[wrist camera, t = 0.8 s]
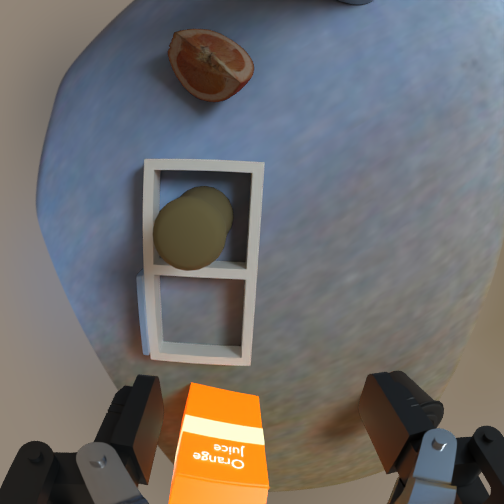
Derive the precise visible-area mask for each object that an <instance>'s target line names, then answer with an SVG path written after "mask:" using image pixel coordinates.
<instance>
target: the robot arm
mask: <svg viewBox="0 0 504 504" xmlns="http://www.w3.org/2000/svg"><path fill="white" fill-rule="evenodd" d="M338 1H342V2H345V3H349V4H367V3H370V2H372V1H373V0H338ZM418 404H419V403H418V402H417V401H416V399H414V396H413V395H412V394H411V392H410V391H409V389H408V388H406V387H405V386H403V385H402V384H401V383H399V382H396V383H395V382H394V380H393V379H392V377H391V376H390V374H389V373H388V372H381V373H374V374H369V375H368V376H367V379H366V382H365V385H364V388H363V392H362V395H361V398H360V401H359V414H360V417H361V419H362V421H363V424H364V426H365V428H366V430H367V432H368V434H369V436H370V439H371V441H372V443H373V445H374V447H375V449H376V452H377V454H378V456H379V458H380V460H381V463H382V465H383V467H384V469H385V471H386V474H390V473H394V472H398V474H399V477H398V478H397V480H396V483H395V485H394V488H393V491H392V493H391V496H390V498H389V501H388V503H387V504H504V437H503V435H502V434H501V433H500V432H499V431H498V430H497V429H496V428H494V427H491V426H482V427H479V428H478V429H477V430H476V431H475V433H474V434H473V436H472V437H460V438H455V436H454V435H453V434H452V433H451V432H449V431H447V430H445V429H440V428H435V427H434V425H433V424H432V422H431V421H430V419H429V418H428V416H427V415H426V414H425V412H424V411H423V409H422V408H421V406H420V405H418ZM163 418H164V405H163V399H162V393H161V388H160V382H159V378H158V376H149V375H140V374H139V375H138V376H137V377H136V380H135V382H134V384H133V387H131V386H124V387H123V388H122V389H120V390H119V391H118V392H117V393H116V394H115V397H114V398H113V401H112V404H111V405H110V407H109V409H108V413H106V416H105V418H104V420H103V422H102V425H101V427H100V429H99V431H98V434H97V436H96V438H95V440H94V442H92V443H88V444H86V445H85V446H83V447H82V448H80V450H79V451H78V452H76V453H58V452H56V453H54V452H53V451H52V449H51V448H50V447H49V446H48V445H47V444H45V443H43V442H40V441H31V442H28V443H26V444H24V445H23V446H22V447H21V448H20V449H19V451H18V453H17V455H16V457H15V459H14V461H13V463H12V465H11V467H10V469H9V471H8V473H7V475H6V477H5V480H4V481H3V484H2V486H1V488H0V504H149V503H148V501H147V500H146V499H145V498H144V497H143V496H142V495H141V493H140V491H139V490H138V484H144V485H148V482H149V478H150V473H151V469H152V464H153V460H154V456H155V452H156V447H157V443H158V439H159V435H160V431H161V427H162V423H163ZM481 472H482V473H483V474H484V476H485V478H486V480H487V481H488V483H489V485H490V487H491V494H490V496H489V494H488V492H487V490H486V489H485V487H484V485H483V483H482V481H481V480H480V478H479V476H478V475H479V474H480V473H481Z"/></svg>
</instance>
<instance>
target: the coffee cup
mask: <svg viewBox="0 0 504 504" xmlns="http://www.w3.org/2000/svg"><path fill="white" fill-rule="evenodd" d="M389 374H390V376H391V377H392V379H393V380H394V382H395V383H396V382H399V383H401V384H402V385H403V386H405V387H406V388H408V389H409V391H410V392H411V394H412V395H413V396H414V399H416V401H417V402H418V403H419V404H418V405H420V406H421V408H422V409H423V411H424V412H425V414H426V415H427V416H428V418H429V419H430V421H431V422H432V424H433V425H434V427H435V428H437V426H438V425H439V423H440V422H441V420H442V418H443V414H444V408H443V404H442V403H441V402H440V401H435V400H433V399H432V398H431V397H430V396H429V395H428V394H427V393H425V392H424V391H423V390H422V389H421V388H420V387H419V386H418V385H417V384H416V383H415V382H414V381H413V380H411V379H410V378H409V377H408V376H407V375H406V374H405V373H404V372H402V371H393V372H391V373H389Z"/></svg>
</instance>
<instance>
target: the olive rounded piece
mask: <svg viewBox="0 0 504 504" xmlns="http://www.w3.org/2000/svg"><path fill="white" fill-rule="evenodd" d="M232 222H233V208H232V206H231V204H230V201H229V199H228V198H227V197H226V196H225V195H224V194H223V193H222V192H221V191H219V190H217V189H215V188H213V187H208V186H199V187H194V188H192V189H190V190H188V191H186V192H185V193H184V194H183V195H182V196H181V197H180V198H177V199H175V200H173V201H171V202H169V203H168V204H167V205H166V206H164V207H163V208H162V209H161V210H160V212H159V214H158V216H157V217H156V219H155V222H154V228H153V241H154V246H155V248H156V250H157V252H158V254H159V256H160V257H161V258H162V259H163V260H164V261H165V262H166V263H167V264H169V265H171V266H173V267H174V268H176V269H180V270H185V271H192V270H199V269H201V268H204V267H206V266H208V265H210V264H211V263H212V262H214V261H215V260H216V259H217V258H218V257H219V255H220V253H221V252H222V250H223V248H224V245H225V240H226V235H227V234H228V232H229V230H230V229H231V227H232Z"/></svg>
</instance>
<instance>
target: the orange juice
mask: <svg viewBox="0 0 504 504" xmlns="http://www.w3.org/2000/svg"><path fill="white" fill-rule="evenodd" d="M268 489H269V483H268V474H267V466H266V457H265V449H264V436H263V429H262V423H261V414H260V406H259V397H258V396H254V395H248V394H243V393H238V392H232V391H227V390H223V389H218V388H213V387H209V386H204V385H200V384H196V383H192V382H191V386H190V390H189V394H188V398H187V402H186V407H185V411H184V415H183V419H182V424H181V430H180V436H179V441H178V447H177V451H176V457H175V463H174V471H173V478H172V484H171V490H170V497H169V504H266V500H267V493H268Z"/></svg>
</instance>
